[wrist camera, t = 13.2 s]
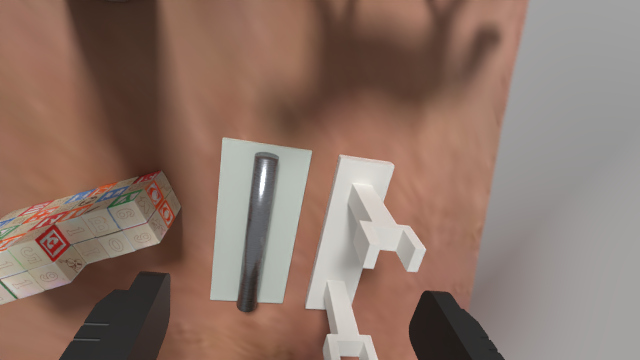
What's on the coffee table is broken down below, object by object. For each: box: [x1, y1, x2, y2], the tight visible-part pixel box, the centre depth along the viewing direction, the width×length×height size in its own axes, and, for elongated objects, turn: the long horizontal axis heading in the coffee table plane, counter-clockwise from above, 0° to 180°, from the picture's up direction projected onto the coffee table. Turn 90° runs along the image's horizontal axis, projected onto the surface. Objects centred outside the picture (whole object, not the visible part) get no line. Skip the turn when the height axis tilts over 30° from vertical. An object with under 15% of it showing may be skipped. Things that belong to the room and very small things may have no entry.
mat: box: [210, 137, 312, 303], centre depth 48 cm, size 12×28×1 cm, turn 169°
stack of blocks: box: [0, 170, 181, 305], centre depth 38 cm, size 21×6×12 cm, turn 105°
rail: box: [237, 152, 279, 312], centre depth 46 cm, size 26×3×3 cm, turn 169°
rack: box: [305, 155, 426, 360], centre depth 43 cm, size 8×28×16 cm, turn 169°
